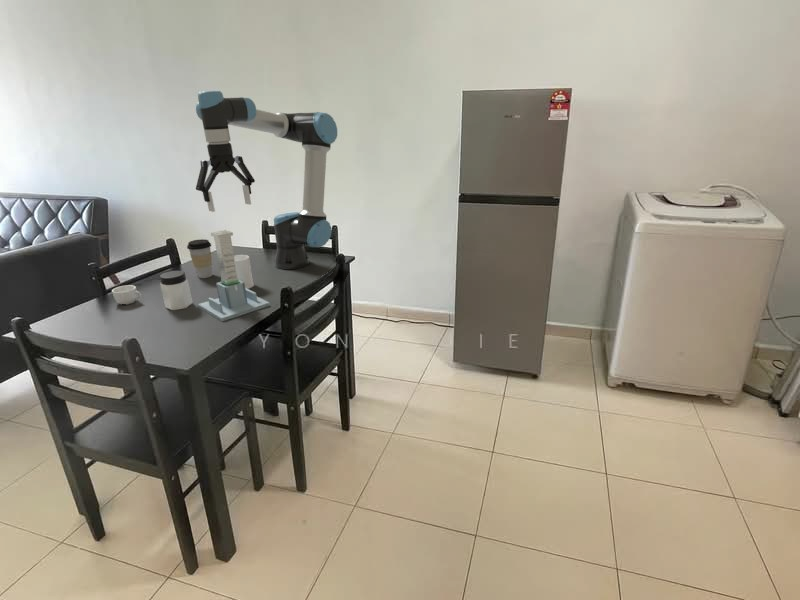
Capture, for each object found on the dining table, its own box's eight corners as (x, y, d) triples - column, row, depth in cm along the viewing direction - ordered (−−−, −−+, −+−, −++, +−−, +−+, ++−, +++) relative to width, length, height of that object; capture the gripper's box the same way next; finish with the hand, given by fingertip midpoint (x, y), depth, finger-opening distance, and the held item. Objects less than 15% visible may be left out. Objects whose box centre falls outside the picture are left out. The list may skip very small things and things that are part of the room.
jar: (165, 311, 159) (157, 279, 154) (165, 303, 166) (158, 272, 161) (192, 307, 162) (186, 275, 158) (192, 299, 169) (185, 269, 165)
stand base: (244, 293, 174) (241, 271, 171) (269, 305, 163) (266, 282, 159) (198, 307, 162) (193, 283, 159) (222, 321, 151) (217, 296, 147)
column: (234, 283, 163) (225, 230, 155) (241, 286, 160) (232, 232, 152) (220, 287, 159) (210, 232, 152) (227, 290, 156) (217, 235, 149)
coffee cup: (206, 280, 188) (199, 245, 183) (188, 278, 191) (180, 243, 186) (221, 273, 197) (215, 239, 191) (203, 271, 200) (197, 238, 194)
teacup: (110, 306, 165) (106, 292, 163) (124, 298, 172) (121, 284, 170) (135, 307, 164) (132, 293, 161) (149, 299, 171) (145, 285, 169)
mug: (240, 294, 174) (235, 264, 169) (221, 291, 176) (216, 262, 171) (258, 283, 184) (254, 255, 179) (240, 281, 186) (236, 253, 182)
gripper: (247, 139, 159) (256, 200, 168) (175, 145, 143) (190, 212, 151) (258, 140, 154) (267, 202, 163) (186, 146, 138) (200, 215, 146)
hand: (230, 207), depth 157 cm, fingers open, 13 cm apart
